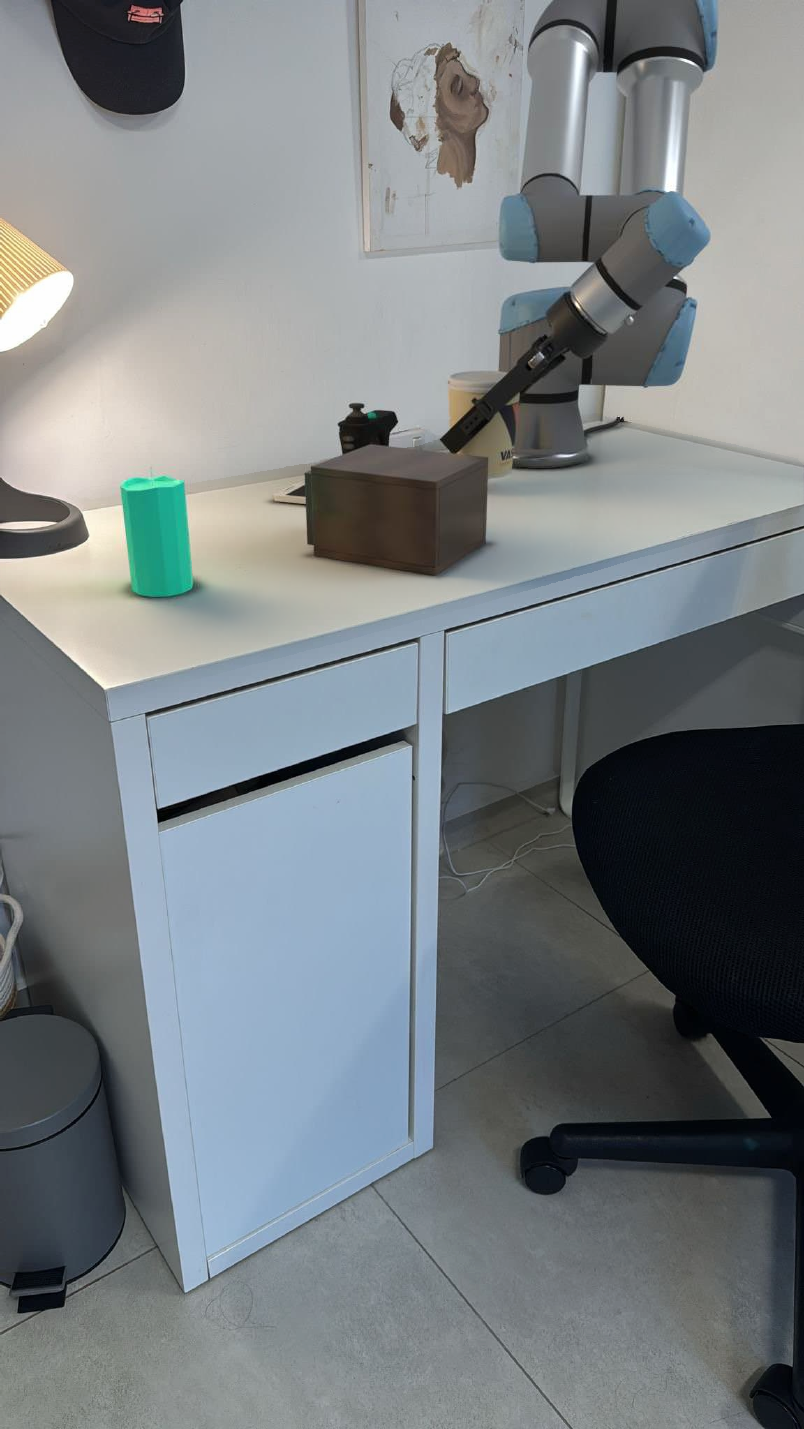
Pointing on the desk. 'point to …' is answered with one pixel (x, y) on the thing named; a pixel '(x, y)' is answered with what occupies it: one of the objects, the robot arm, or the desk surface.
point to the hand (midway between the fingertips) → (458, 439)
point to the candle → (157, 535)
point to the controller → (365, 428)
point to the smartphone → (292, 494)
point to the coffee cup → (498, 432)
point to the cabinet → (400, 507)
